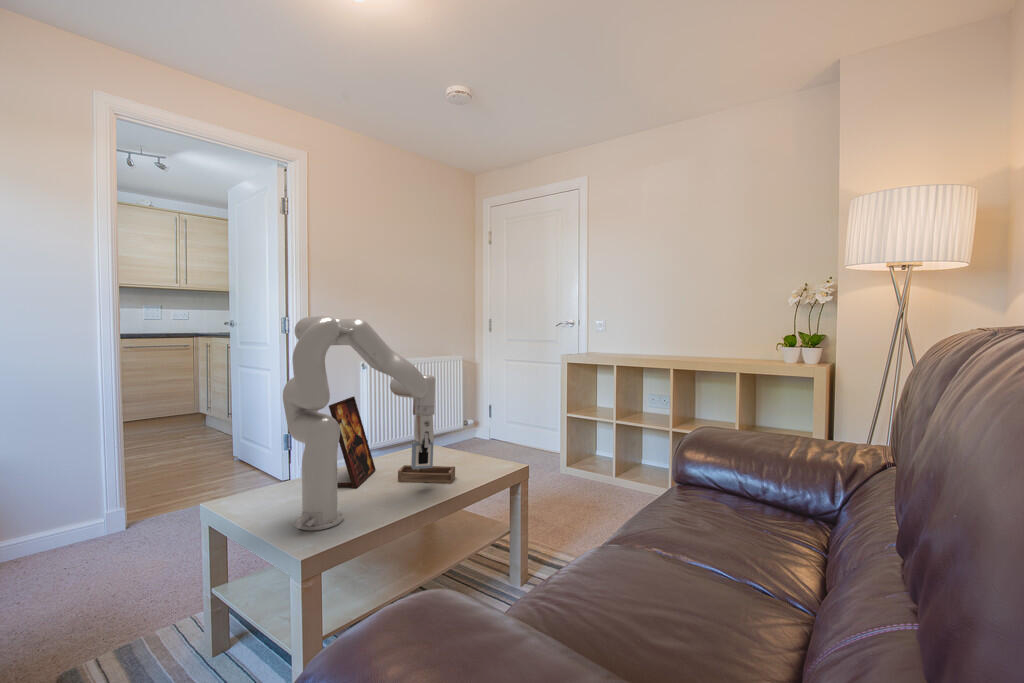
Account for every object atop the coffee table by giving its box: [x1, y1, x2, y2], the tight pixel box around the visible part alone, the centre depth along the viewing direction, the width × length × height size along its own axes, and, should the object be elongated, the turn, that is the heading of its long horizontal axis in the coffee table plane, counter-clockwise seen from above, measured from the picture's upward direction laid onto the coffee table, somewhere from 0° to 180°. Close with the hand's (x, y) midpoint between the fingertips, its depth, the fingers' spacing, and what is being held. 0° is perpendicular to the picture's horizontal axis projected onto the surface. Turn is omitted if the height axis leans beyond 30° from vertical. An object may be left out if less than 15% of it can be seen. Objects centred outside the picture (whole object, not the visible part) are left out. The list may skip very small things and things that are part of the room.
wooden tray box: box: [397, 464, 456, 484], centre depth 173 cm, size 7×20×4 cm, turn 84°
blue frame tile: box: [410, 441, 434, 469], centre depth 162 cm, size 2×7×9 cm, turn 115°
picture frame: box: [328, 395, 377, 489], centre depth 173 cm, size 21×11×30 cm, turn 179°
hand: (422, 462), depth 162 cm, fingers closed on blue frame tile, 2 cm apart
